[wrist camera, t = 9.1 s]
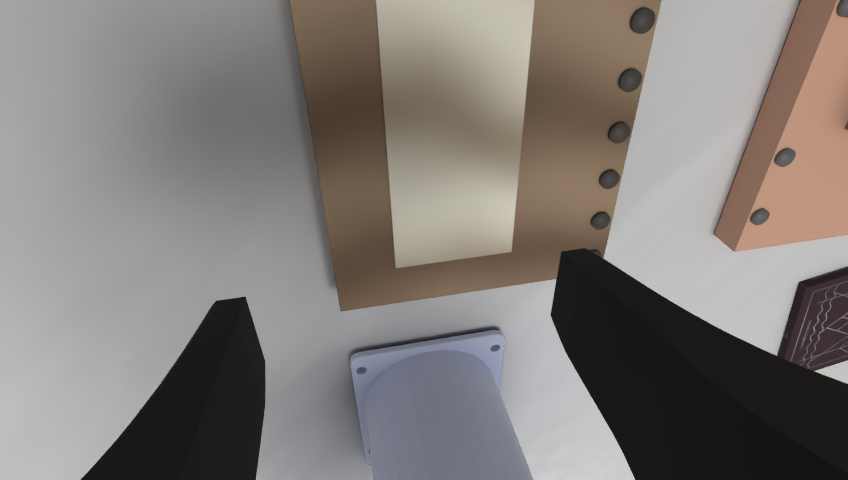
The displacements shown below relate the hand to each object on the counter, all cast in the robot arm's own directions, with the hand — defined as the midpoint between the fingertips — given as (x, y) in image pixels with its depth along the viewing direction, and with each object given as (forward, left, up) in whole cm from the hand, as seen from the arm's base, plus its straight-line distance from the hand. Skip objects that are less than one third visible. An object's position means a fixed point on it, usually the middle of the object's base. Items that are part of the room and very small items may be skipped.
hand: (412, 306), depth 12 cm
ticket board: (+1, -4, -9) cm, 10 cm away
